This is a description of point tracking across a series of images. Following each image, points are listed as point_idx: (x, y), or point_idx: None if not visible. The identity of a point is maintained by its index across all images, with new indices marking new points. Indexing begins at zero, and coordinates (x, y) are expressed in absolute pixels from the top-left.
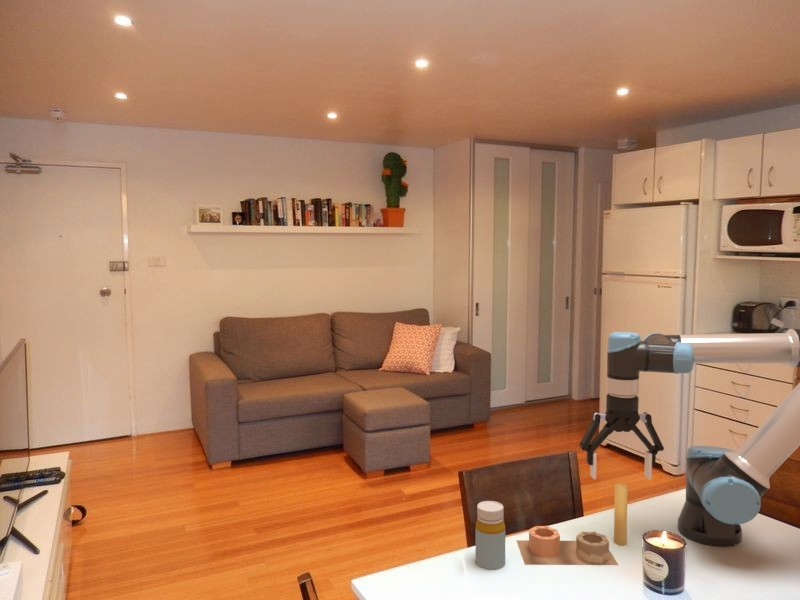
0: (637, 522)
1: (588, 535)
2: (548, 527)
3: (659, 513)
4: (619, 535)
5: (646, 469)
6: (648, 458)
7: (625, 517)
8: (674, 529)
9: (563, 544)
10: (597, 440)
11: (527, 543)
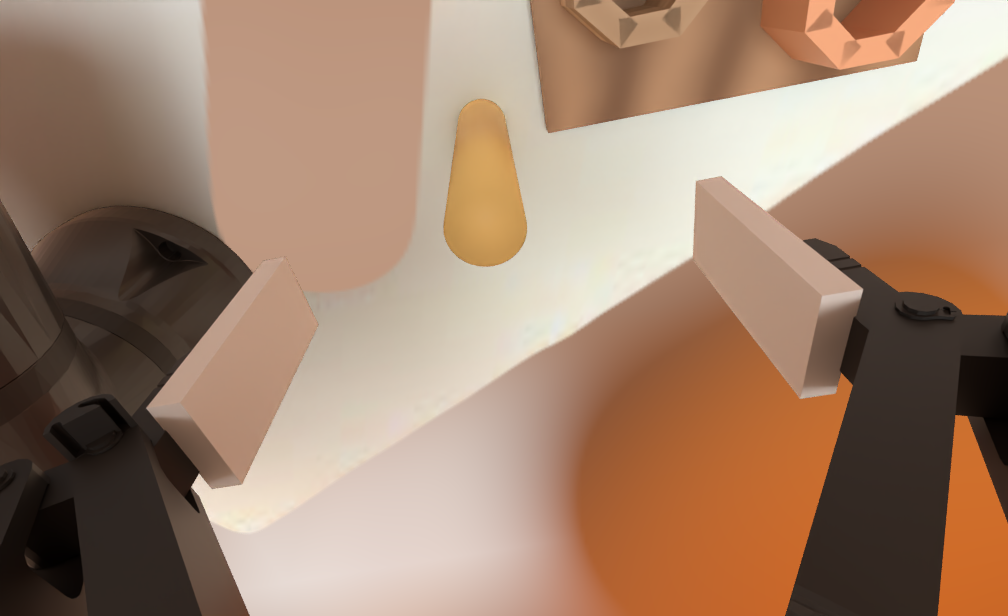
0: (402, 329)
1: (655, 10)
2: (838, 54)
3: (329, 398)
4: (489, 113)
5: (281, 329)
6: (214, 373)
7: (462, 141)
8: None
9: (722, 62)
10: (952, 438)
11: None
